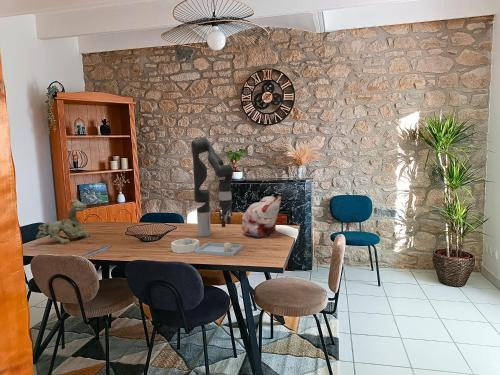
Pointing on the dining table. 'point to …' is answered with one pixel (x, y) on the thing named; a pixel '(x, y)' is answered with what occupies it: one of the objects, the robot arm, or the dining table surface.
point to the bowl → (184, 246)
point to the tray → (218, 249)
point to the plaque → (96, 251)
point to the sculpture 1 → (65, 225)
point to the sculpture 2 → (261, 217)
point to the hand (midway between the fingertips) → (226, 225)
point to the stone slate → (188, 242)
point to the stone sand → (227, 247)
